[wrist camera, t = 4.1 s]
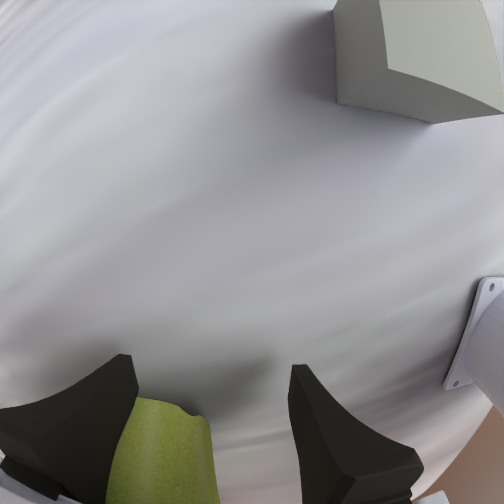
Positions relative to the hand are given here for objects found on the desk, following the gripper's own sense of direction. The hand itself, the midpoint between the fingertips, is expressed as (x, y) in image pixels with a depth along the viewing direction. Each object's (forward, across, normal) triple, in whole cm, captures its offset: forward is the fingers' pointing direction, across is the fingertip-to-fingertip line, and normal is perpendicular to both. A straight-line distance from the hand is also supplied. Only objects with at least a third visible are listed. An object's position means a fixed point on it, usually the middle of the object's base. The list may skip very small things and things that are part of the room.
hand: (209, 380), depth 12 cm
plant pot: (+1, +3, +4) cm, 5 cm away
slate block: (+2, -8, -14) cm, 16 cm away
